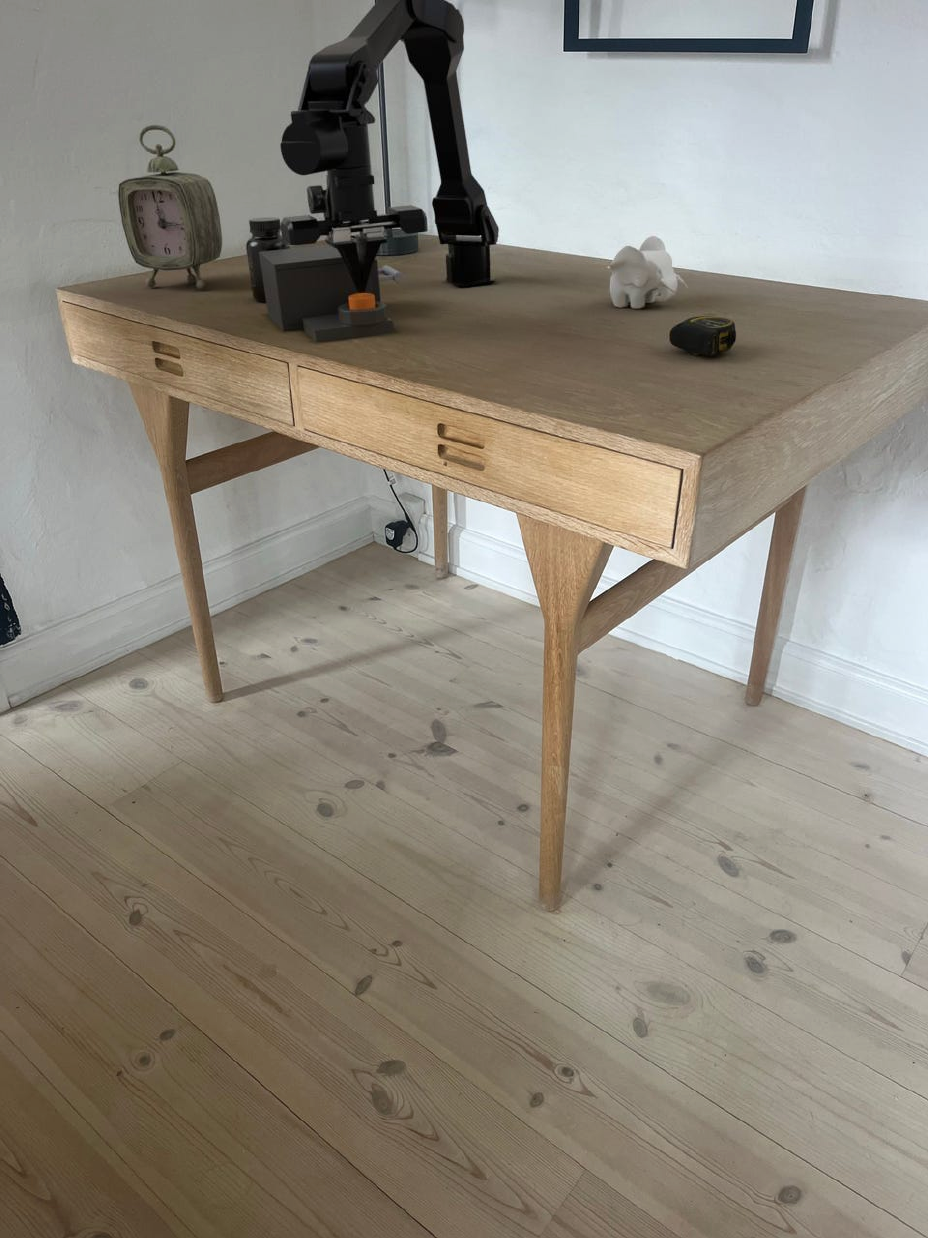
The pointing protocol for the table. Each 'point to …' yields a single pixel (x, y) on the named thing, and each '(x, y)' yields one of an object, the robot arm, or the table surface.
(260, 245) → the supplement bottle
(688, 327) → the tape measure
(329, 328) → the pad
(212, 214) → the tabletop clock
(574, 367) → the table surface
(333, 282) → the grey lidded box
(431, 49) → the robot arm
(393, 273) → the box with white handle
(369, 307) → the button
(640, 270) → the elephant figurine
